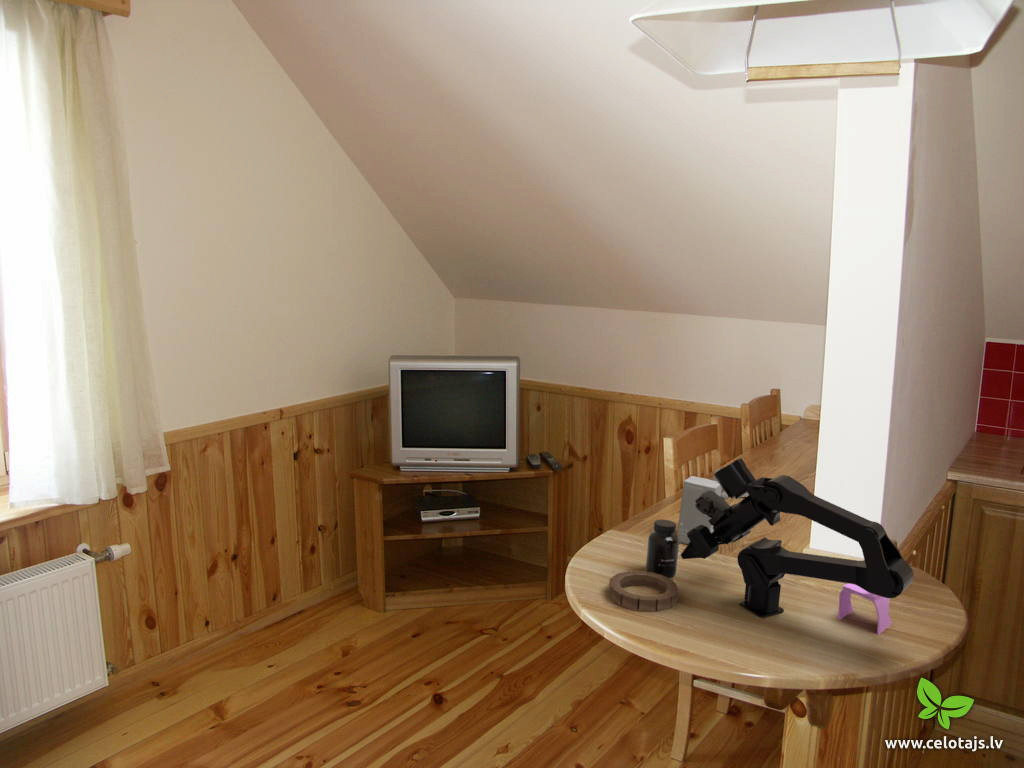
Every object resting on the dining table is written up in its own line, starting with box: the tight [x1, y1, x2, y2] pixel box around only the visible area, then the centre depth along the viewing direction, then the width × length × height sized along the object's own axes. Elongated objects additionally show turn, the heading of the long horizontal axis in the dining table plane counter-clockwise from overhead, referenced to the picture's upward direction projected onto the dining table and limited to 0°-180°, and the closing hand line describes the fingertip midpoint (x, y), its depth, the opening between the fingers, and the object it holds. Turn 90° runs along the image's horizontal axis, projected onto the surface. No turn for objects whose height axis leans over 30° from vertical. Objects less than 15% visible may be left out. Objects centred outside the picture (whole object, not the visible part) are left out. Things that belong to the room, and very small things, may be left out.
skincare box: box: [676, 475, 722, 545], centre depth 203 cm, size 8×7×16 cm
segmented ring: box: [608, 570, 679, 613], centre depth 174 cm, size 14×14×2 cm
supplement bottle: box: [645, 519, 680, 579], centre depth 184 cm, size 7×7×12 cm
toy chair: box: [837, 583, 893, 636], centre depth 164 cm, size 8×9×15 cm
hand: (692, 551), depth 179 cm, fingers open, 9 cm apart
